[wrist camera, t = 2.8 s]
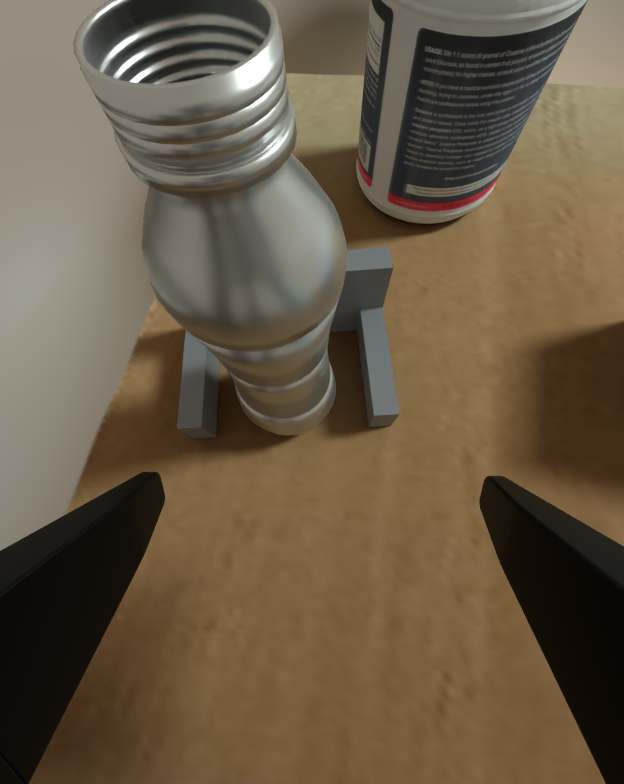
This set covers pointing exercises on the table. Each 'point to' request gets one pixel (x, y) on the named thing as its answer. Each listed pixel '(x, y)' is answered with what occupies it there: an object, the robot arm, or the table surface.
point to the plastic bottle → (225, 192)
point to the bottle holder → (352, 313)
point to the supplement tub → (451, 97)
